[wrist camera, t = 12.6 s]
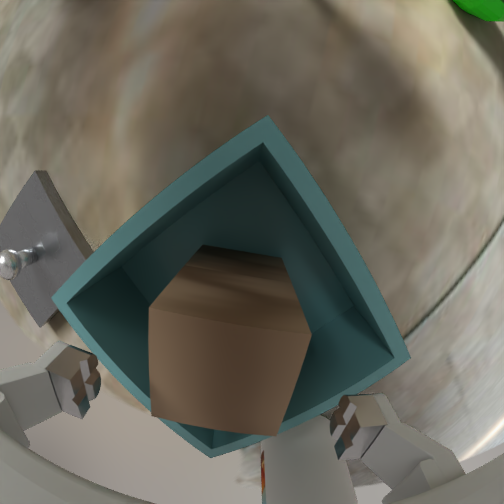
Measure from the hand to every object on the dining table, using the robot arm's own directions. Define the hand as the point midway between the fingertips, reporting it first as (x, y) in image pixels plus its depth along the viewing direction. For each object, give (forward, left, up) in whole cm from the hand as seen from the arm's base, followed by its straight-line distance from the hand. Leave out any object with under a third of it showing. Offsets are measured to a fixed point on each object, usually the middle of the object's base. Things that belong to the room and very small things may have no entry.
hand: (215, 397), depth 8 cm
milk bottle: (+17, -5, -12) cm, 22 cm away
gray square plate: (-12, -13, -12) cm, 21 cm away
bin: (0, 0, -12) cm, 12 cm away
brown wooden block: (0, 0, -11) cm, 11 cm away
